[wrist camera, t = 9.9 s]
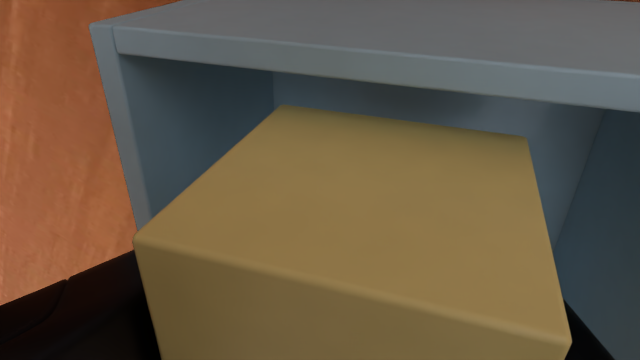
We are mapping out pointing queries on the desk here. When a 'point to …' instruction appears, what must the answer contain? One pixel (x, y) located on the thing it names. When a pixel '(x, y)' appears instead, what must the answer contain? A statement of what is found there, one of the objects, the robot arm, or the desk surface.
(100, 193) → the desk surface
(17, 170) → the desk surface
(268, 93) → the box
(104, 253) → the desk surface
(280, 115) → the block
